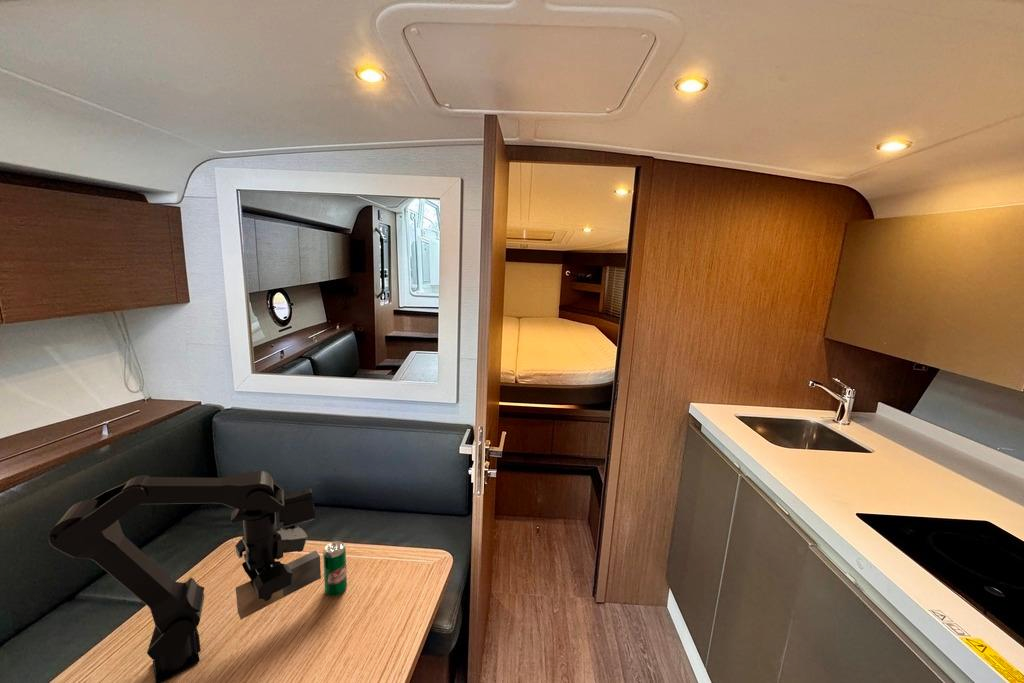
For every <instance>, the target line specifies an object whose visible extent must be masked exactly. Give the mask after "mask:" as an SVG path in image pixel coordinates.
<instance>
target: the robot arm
mask: <svg viewBox="0 0 1024 683" xmlns="http://www.w3.org/2000/svg"><path fill="white" fill-rule="evenodd" d="M181 504H182V505H185V504H186V505H189V504H191V505H192V504H194V505H196V504H217V505H218V504H220V505H224V506H227V507H230V508H232V509H233V511H232V513H231V520H230V523H231V524H235V523H238V522H242V525H243V535H244V536H242V537H241V539H239V541H238V542H237V543H236V544H235V553H236V555H237V558H238V559H242V558H243V559H244V561H243V563H241V566H242V569H243V570H244V572H245V574H246V575H247V576H248V578H250V580H249V581H250V583H251V585H252V587H253V589H255V592H256V594H257V596H258V598H259V599H264V601H268V600H270V599H271V597H272V594H273V593H275V592H277V591H279V590H281V589H283V588H285V587H287V586H289V585H291V584H292V583H293V573H292V572H291V570H290V568H289V567H288V565H286V564H287V563H283V562H282V563H281V561H280V560H281V559H283V558H284V554H288V553H294V552H297V553H301V552H302V551H304V548H305V545H306V542H307V539H308V534H307V532H305V531H304V529H303V528H301V527H300V526H296V525H299V524H303V523H305V522H306V523H307V522H309V521H314V520H315V519H316V510H315V509H316V508H315V504H314V499H313V491H312V488H306V489H303V490H302V491H298V492H294V493H289V494H285V490H284V489H283V488H281V487H280V486H279V485H278V484H276V483H275V481H274V480H273V477H272V476H271V474H270V473H269V472H268V471H264V470H256V471H247V472H241V473H237V474H234V475H231V476H227V477H193V476H192V477H191V476H190V477H187V476H184V477H183V476H182V477H180V476H177V477H176V476H175V477H174V476H149V475H145V474H141V475H136V476H134V477H131V478H130V479H129V480H127V481H125V482H124V483H122V484H120V485H117V486H115V487H112V488H110V489H108V490H106V491H104V492H103V493H101V494H98V495H97V496H95V497H93V498H92V499H85V500H82V501H79V502H76V503H75V504H73V505H72V506H70V507H69V509H68V510H67V511H66V512H65V513H64V515H63V516H62V517H61V518H60V519H59V521H57V523H56V524H55V526H53V528H52V530H51V531H50V533H49V537H48V543H49V545H50V547H52V548H54V549H55V550H57V551H60V552H61V553H64V554H65V555H67V556H69V557H71V558H74V559H75V558H76V559H84V560H91V561H93V562H94V563H95V564H97V565H98V566H99V567H100V568H102V569H103V570H104V571H105V572H106V573H108V574H109V575H110V576H111V577H113V578H114V579H115V581H117V582H118V583H120V585H122V586H123V587H124V588H125V589H127V590H128V591H129V592H130V593H131V594H132V595H134V596H135V597H136V598H138V600H140V601H141V602H142V603H143V604H145V606H147V607H148V608H149V611H150V613H151V616H152V619H153V623H154V625H155V626H154V629H153V632H152V636H151V638H150V642H149V644H148V649H147V651H146V654H147V655H148V656H149V657H150V658H151V660H152V667H153V672H154V674H153V675H154V679H155V683H165V682H166V681H168V680H169V679H171V678H172V679H173V677H175V676H177V675H179V674H181V673H182V672H184V671H186V670H189V669H191V668H192V667H193V666H194V665H197V664H198V663H199V662H200V656H199V653H200V652H201V642H200V634H199V630H198V626H199V624H200V622H201V619H202V617H201V616H202V612H203V607H204V602H205V594H204V592H205V586H201V585H199V584H198V583H197V581H196V580H195V578H193V577H190V578H189V579H188V580H186V581H185V582H182V581H181V582H180V581H175V580H174V579H172V578H171V577H170V576H169V574H167V573H166V572H165V571H164V570H163V569H161V568H160V567H159V566H158V565H157V564H156V563H155V562H154V561H153V560H152V559H151V558H149V557H148V556H147V555H146V554H145V553H144V552H143V551H142V550H140V548H139V547H138V546H137V545H135V544H134V543H133V542H132V541H131V540H130V539H129V538H127V536H125V535H124V533H123V530H122V527H121V523H120V519H121V518H122V517H124V516H125V515H126V514H128V513H129V512H130V511H132V510H134V509H135V508H137V507H138V506H140V505H181ZM276 513H279V514H278V516H279V517H278V518H279V524H280V525H281V524H282V526H281V527H280V528H279V530H277V517H276ZM243 553H244V554H243Z"/></svg>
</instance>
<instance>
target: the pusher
mask: <svg viewBox="0 0 1024 683" xmlns="http://www.w3.org/2000/svg"><path fill="white" fill-rule="evenodd" d="M285 564H286V565H288V567H289V568H290V570H291V572H292V573H293V583H292V584H291V585H289V586H287V587H285V588H283V589H281V590H279V591H277V592H275V593H273V594H272V597H271V599H270V600H268V601H264V599H259V598H258V596H257V594H256V592H255V589H253V587H252V585H251V583H250V580H248V581H247V582H245V583H243V584H240V585H238V586H236V587H235V597H236V607H237V609H236V610H237V614H238V616H239V619H240V620H243V619H245V618H247V617H249V616H252V614H255V613H257V612H259V611H260V610H263V609H264V608H266V607H268V606H270V605H272V604H274V603H276V602H278V601H280V600H282V599H284V598H285V597H288V596H289V595H292V594H293V593H296V592H297V591H299V590H302V589H303V588H305V587H307V586H309V585H310V584H312V583H314V582H316V581H318V580H319V579H322V573H321V572H322V571H321V570H322V569H321V568H322V567H321V556H320V554H319V553H318V551H317V550H316V549H315V550H313V551H311V552H309V553H307V554H305V555H303V556H300V557H298V558H296V559H294V560H291V561H290V562H287V563H285Z"/></svg>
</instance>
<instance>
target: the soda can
mask: <svg viewBox="0 0 1024 683" xmlns="http://www.w3.org/2000/svg"><path fill="white" fill-rule="evenodd" d="M322 558H323V559H322V560H323V561H322V563H323V580H324V583H323V584H324V593H325V595H327V596H329V597H336V596H339V595H342V593H343V592H344V591H345V590H347V586H348V577H347V576H348V575H347V572H348V571H347V550H346V545H345V543H344V542H342V541H340V540H336V541H332V542H330V543H328V544H327V545H326V546H325V547H324V551H323V552H322Z"/></svg>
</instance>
